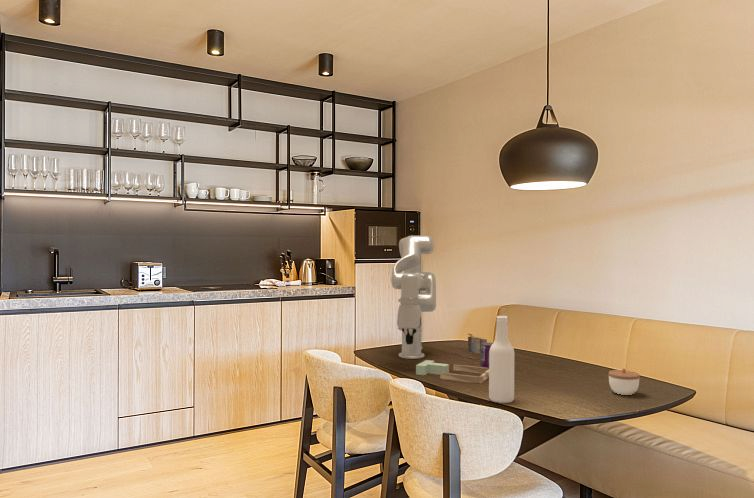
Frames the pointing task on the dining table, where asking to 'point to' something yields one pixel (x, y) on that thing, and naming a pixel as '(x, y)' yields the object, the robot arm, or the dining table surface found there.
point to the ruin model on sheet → (475, 343)
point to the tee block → (431, 368)
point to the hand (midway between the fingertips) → (409, 343)
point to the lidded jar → (624, 381)
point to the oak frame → (467, 378)
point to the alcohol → (501, 365)
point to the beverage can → (484, 354)
